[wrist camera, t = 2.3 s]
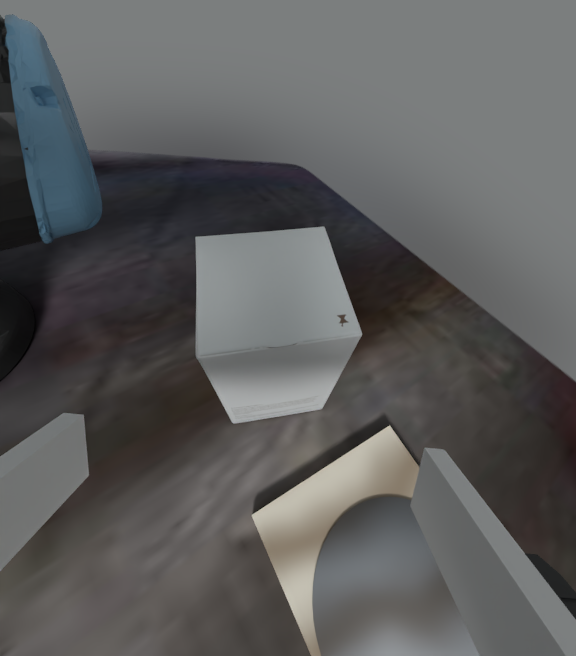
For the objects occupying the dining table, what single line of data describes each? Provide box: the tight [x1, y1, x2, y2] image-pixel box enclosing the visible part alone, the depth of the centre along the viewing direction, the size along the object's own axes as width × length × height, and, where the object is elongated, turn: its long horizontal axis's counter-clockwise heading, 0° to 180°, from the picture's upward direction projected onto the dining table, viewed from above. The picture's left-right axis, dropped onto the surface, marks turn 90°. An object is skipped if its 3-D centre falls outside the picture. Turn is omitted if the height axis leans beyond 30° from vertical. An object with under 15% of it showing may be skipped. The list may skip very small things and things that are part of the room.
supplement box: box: [195, 227, 362, 423], centre depth 23 cm, size 9×9×15 cm
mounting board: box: [252, 425, 480, 656], centre depth 21 cm, size 20×14×1 cm
